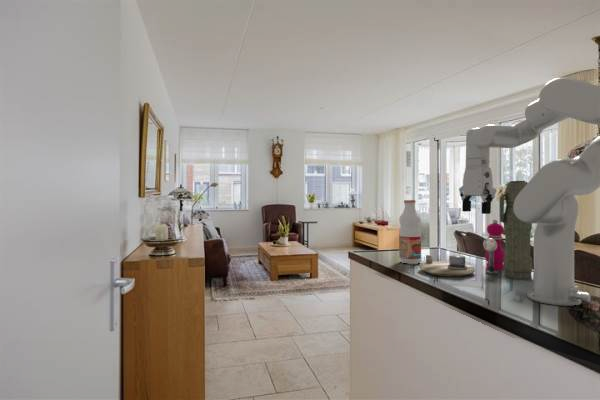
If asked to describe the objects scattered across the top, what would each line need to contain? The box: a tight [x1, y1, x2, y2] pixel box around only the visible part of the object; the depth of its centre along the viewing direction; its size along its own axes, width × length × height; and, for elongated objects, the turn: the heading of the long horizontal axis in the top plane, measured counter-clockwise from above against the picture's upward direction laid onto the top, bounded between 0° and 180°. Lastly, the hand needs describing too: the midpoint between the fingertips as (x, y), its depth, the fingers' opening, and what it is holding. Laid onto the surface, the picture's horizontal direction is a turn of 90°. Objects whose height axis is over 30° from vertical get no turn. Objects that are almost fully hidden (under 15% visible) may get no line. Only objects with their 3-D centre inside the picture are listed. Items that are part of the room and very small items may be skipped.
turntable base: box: [424, 271, 470, 278], centre depth 143 cm, size 16×16×1 cm
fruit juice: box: [398, 199, 422, 265], centre depth 164 cm, size 9×9×28 cm
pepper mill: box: [484, 219, 505, 271], centre depth 150 cm, size 7×7×20 cm
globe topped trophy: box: [482, 238, 498, 275], centre depth 140 cm, size 5×4×14 cm
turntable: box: [418, 254, 476, 275], centre depth 143 cm, size 20×20×4 cm
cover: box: [448, 254, 467, 270], centre depth 139 cm, size 7×7×4 cm
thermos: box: [499, 180, 534, 281], centre depth 133 cm, size 9×12×35 cm
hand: (475, 212), depth 130 cm, fingers open, 9 cm apart
